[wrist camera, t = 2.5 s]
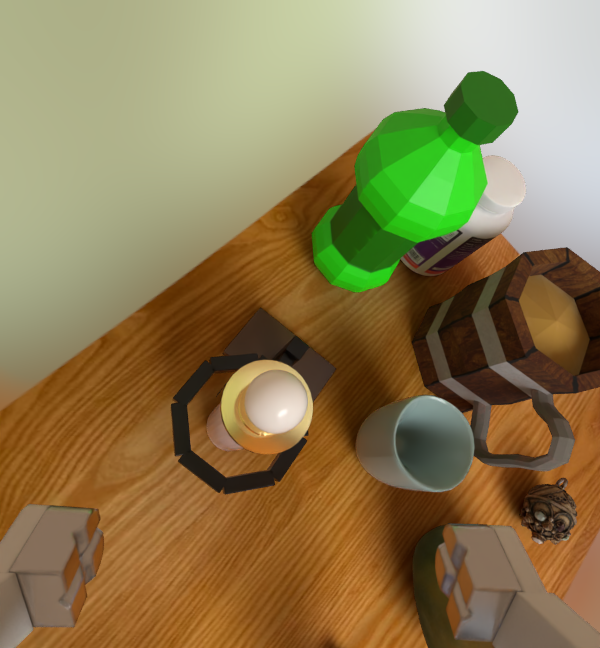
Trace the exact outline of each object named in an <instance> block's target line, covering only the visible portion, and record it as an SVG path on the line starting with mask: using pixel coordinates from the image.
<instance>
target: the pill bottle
mask: <svg viewBox="0 0 600 648" xmlns="http://www.w3.org/2000/svg"><path fill="white" fill-rule="evenodd" d="M483 163H484V168H485V172H486V177H487V182H488V184H487V186H486V188H485V190H484V192H483V194H482V196H481V198H480V200H479V202H478V204H477V206H476V208H475V210H474V211H473V213H472V215H471V217H470V219H469V221H468V222H467V223H466V224H465V225H463V226H462V227H461V228H460V229H458V230H456V231H454V232H452V233H449V234H447V235H444V236H440V237H436V238H433V239H429V240H425V241H422V242H419V243H417V244H416V245H415V246H414V247H413V248H412V249H410V250H409V251H408V252H407V253H406V254H405V255H404V256H402V257H401V260H402V262H403V263H404V264H405V265H406V266H407V267H408V268H409V269H411V270H412V271H414V272H416V273H418V274H421V275H425V276H436V275H440V274H442V273H444V272H446V271H447V270H449V269H450V268H452V267H453V266H454V265H456V264H457V263H459V262H460V261H462V260H463V259H465V258H466V257H467V256H469V255H470V254H472V253H473V252H475V251H476V250H477V249H479V248H480V247H482V246H483V245H485V244H486V243H488V242H489V241H490V240H492V239H493V238H495V237H496V236H498V235H499V234H501V233H502V232H503V231H504V230H505V229H506V228H507V227H508V225H509V224H510V222H511V220H512V217H513V211H514V208H515V207H516V206H517V205H519V204H520V203H521V202H522V201H523V199H524V197H525V193H526V185H525V181H524V179H523V177H522V175H521V173H520V172H519V170H518V169H517V168H516V167H515V166H514V165H513V164H512V163H511V162H510V161H508V160H506V159H504V158H502V157H499V156H493V155H492V156H486V157H484V158H483Z"/></svg>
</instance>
